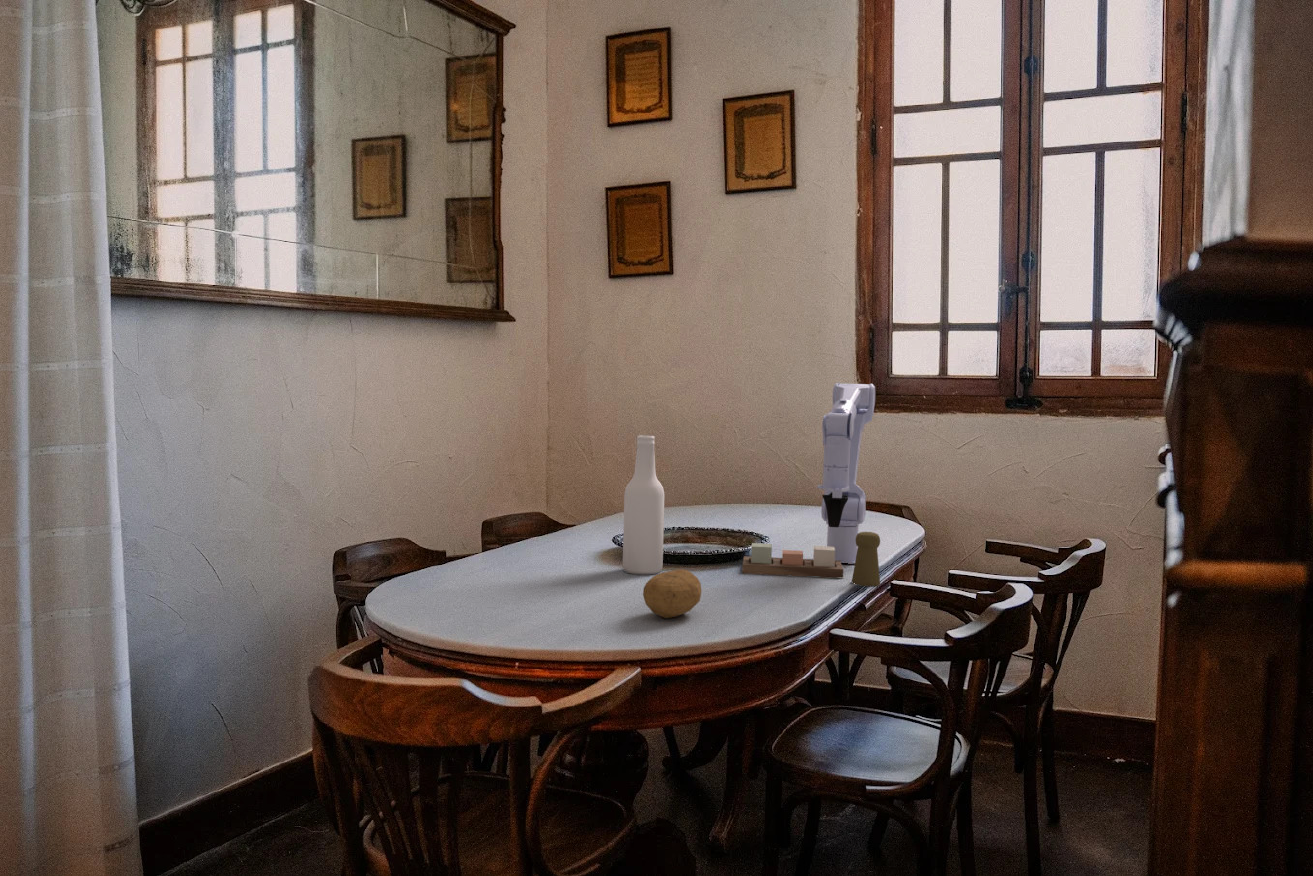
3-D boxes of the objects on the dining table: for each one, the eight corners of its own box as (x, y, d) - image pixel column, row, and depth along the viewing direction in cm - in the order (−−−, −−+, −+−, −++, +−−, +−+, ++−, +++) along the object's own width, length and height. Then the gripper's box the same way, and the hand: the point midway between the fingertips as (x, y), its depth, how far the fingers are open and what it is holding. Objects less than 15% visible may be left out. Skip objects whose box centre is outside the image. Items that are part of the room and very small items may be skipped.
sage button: (751, 560, 235) (751, 543, 235) (771, 561, 235) (771, 544, 235) (750, 564, 231) (751, 546, 231) (771, 565, 230) (771, 547, 230)
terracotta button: (781, 567, 235) (782, 549, 234) (801, 568, 234) (802, 550, 234) (782, 571, 230) (782, 553, 230) (802, 572, 230) (803, 554, 230)
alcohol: (662, 575, 224) (666, 437, 221) (622, 574, 224) (625, 436, 221) (662, 567, 232) (665, 435, 230) (623, 566, 232) (626, 434, 230)
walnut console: (743, 564, 238) (744, 556, 238) (840, 569, 236) (840, 560, 236) (742, 573, 229) (742, 564, 228) (843, 578, 226) (843, 569, 226)
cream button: (813, 563, 234) (813, 545, 234) (833, 564, 233) (834, 546, 233) (814, 567, 229) (814, 549, 229) (834, 568, 229) (835, 550, 229)
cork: (867, 587, 217) (869, 536, 216) (845, 581, 222) (847, 531, 221) (886, 583, 221) (888, 533, 220) (864, 578, 226) (866, 528, 225)
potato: (627, 620, 185) (628, 576, 184) (665, 605, 197) (667, 564, 196) (674, 628, 180) (676, 583, 179) (711, 612, 192) (712, 570, 191)
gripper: (816, 463, 238) (814, 521, 239) (819, 468, 224) (817, 530, 224) (847, 464, 237) (845, 523, 238) (852, 469, 223) (850, 532, 224)
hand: (833, 526), depth 231 cm, fingers closed
